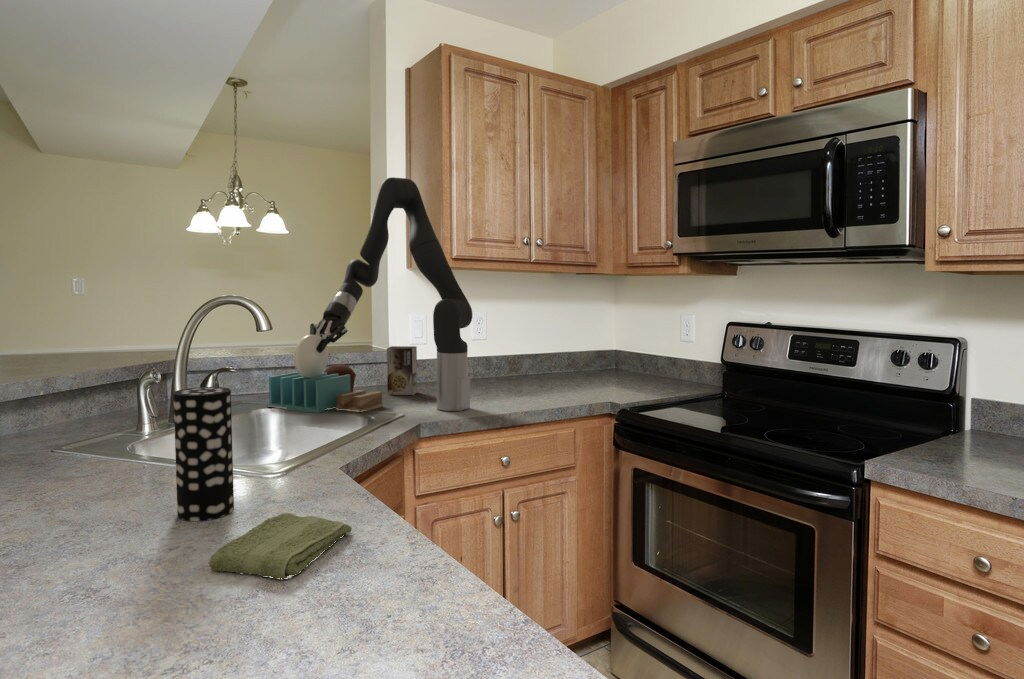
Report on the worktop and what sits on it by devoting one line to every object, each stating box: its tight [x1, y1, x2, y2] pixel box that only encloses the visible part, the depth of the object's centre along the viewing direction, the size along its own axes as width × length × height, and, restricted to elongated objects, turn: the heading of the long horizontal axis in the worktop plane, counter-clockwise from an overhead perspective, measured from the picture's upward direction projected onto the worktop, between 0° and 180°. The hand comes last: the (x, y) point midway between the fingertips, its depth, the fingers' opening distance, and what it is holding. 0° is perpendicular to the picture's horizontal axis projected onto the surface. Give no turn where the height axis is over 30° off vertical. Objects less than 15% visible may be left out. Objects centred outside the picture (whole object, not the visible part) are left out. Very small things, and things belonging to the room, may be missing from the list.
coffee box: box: [386, 345, 418, 396], centre depth 219 cm, size 9×6×16 cm
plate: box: [293, 334, 329, 378], centre depth 193 cm, size 2×13×13 cm, turn 157°
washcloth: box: [207, 512, 353, 579], centre depth 90 cm, size 13×18×3 cm
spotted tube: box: [172, 386, 235, 522], centre depth 104 cm, size 8×8×20 cm
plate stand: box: [335, 389, 384, 411], centre depth 193 cm, size 9×11×4 cm
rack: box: [266, 371, 350, 414], centre depth 196 cm, size 19×16×9 cm
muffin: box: [323, 364, 357, 392], centre depth 216 cm, size 12×11×10 cm
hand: (315, 350), depth 194 cm, fingers closed on plate, 2 cm apart
